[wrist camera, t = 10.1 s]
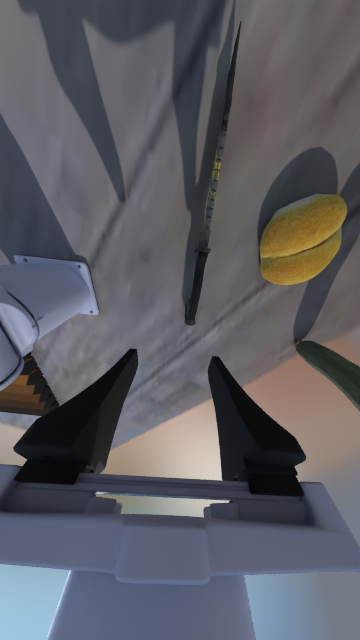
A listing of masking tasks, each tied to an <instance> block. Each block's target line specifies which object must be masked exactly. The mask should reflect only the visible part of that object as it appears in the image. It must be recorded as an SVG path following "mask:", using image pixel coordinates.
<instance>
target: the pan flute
mask: <svg viewBox="0 0 360 640" xmlns="http://www.w3.org/2000/svg"><path fill="white" fill-rule="evenodd" d="M30 355H31V353H30V352H29V353H28V354H26V355H25V356H24V357H22V358H23V360H24V367H23V369H22V371H21V373H20V374H19V376H18V377H17V378H16V379H15V380H14V381H13V382H12V383H11V384H10V385H8V386H7V387H6V388H4V389H3V390H2V391H0V412H9V413H18V414H27V415H37V416H44V415H45V414H47V413H49V412H51V411H52V410H54V409H56V408H58V407H59V404H58V402H57V401H55V399H56V398H55V396H54V394H51V392H52V391H51V389H50V387H47V386H46V385H47V382H46V380H45V378H41V377H42V375H43V374H42V373H41V371H40V369H36V368H35V367H36V366H37V363H36V362H35V360H34V358H28V357H29V356H30Z"/></svg>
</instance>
